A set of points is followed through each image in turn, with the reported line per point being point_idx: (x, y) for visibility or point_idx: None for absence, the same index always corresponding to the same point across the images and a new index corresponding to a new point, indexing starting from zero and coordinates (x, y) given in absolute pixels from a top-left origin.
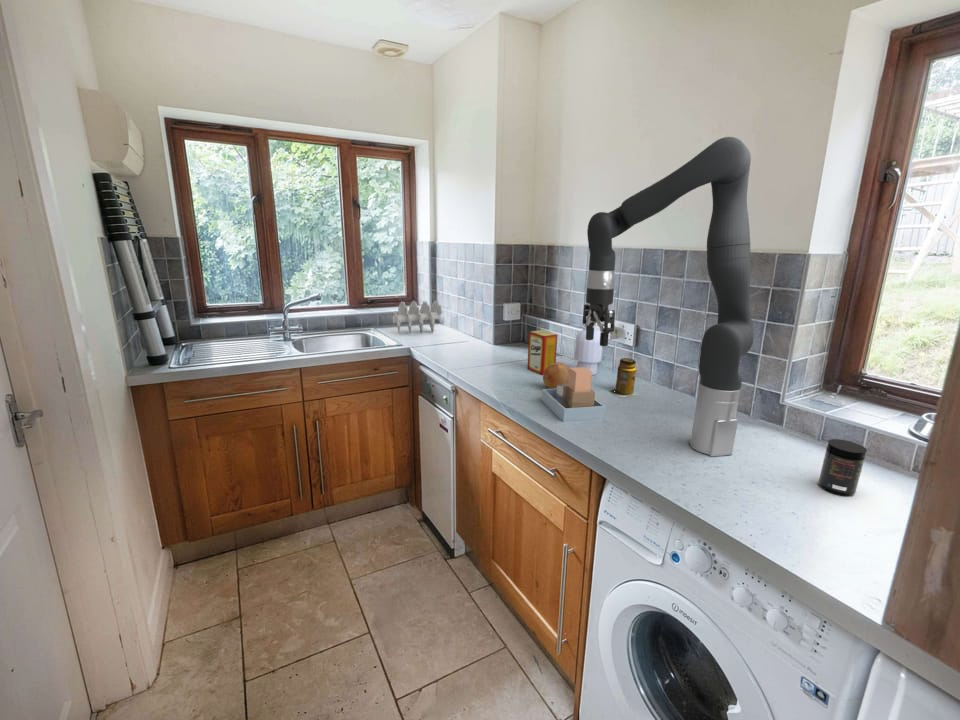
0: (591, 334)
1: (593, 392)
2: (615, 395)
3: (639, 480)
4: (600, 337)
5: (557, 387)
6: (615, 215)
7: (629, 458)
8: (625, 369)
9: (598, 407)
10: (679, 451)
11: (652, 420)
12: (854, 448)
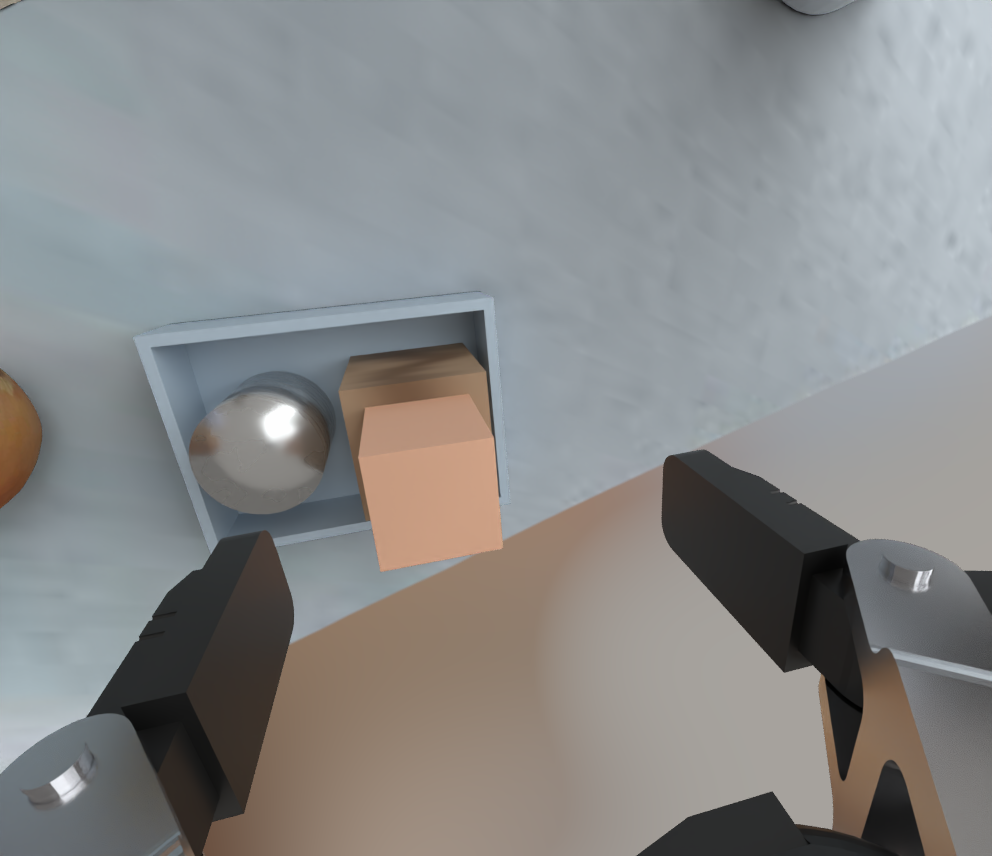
0: (252, 616)
1: (486, 380)
2: (16, 1)
3: (888, 359)
4: (740, 612)
5: (271, 512)
6: None
7: (786, 331)
8: None
9: (495, 337)
10: (803, 101)
11: (496, 4)
12: None
